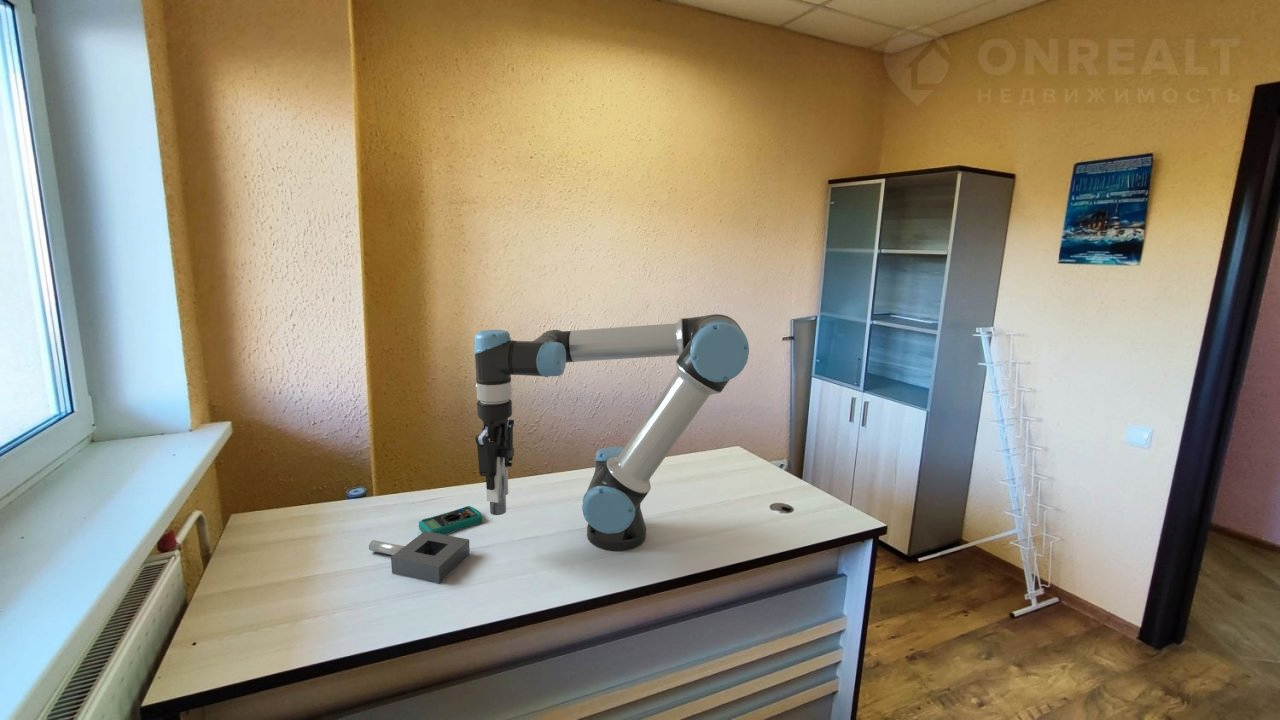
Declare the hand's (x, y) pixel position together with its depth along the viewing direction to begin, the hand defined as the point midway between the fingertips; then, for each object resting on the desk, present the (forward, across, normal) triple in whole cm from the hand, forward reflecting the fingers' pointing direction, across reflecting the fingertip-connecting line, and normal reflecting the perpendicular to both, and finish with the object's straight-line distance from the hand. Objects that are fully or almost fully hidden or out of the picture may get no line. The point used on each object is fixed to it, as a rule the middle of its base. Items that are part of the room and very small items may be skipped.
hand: (497, 497), depth 132 cm
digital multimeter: (+15, -9, -19) cm, 26 cm away
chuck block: (+15, +8, -18) cm, 24 cm away
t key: (+4, 0, 0) cm, 4 cm away
